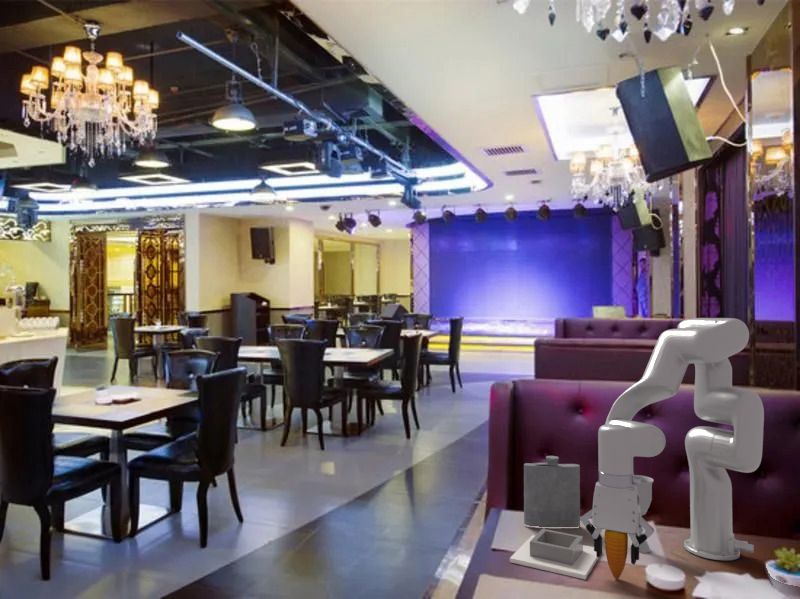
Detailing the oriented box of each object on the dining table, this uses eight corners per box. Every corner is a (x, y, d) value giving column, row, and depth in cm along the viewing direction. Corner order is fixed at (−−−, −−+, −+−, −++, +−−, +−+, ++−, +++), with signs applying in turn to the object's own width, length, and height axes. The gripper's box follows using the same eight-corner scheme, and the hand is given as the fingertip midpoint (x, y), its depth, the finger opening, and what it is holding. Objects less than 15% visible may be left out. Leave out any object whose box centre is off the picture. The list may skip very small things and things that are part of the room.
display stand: (601, 552, 145) (601, 534, 145) (585, 579, 129) (585, 559, 130) (532, 538, 154) (532, 521, 154) (509, 562, 139) (509, 543, 139)
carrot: (628, 585, 127) (628, 517, 127) (605, 582, 128) (604, 514, 129) (627, 576, 131) (627, 510, 132) (604, 573, 133) (604, 508, 134)
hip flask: (578, 524, 165) (577, 455, 166) (582, 529, 161) (581, 458, 162) (523, 523, 166) (523, 454, 166) (525, 528, 162) (525, 457, 162)
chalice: (657, 555, 143) (656, 483, 144) (628, 553, 145) (628, 481, 145) (650, 544, 150) (650, 475, 151) (623, 542, 152) (623, 474, 153)
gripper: (658, 481, 129) (659, 561, 129) (581, 470, 138) (581, 545, 138) (654, 489, 123) (655, 573, 122) (573, 477, 132) (573, 556, 131)
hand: (616, 558), depth 130 cm, fingers open, 6 cm apart
